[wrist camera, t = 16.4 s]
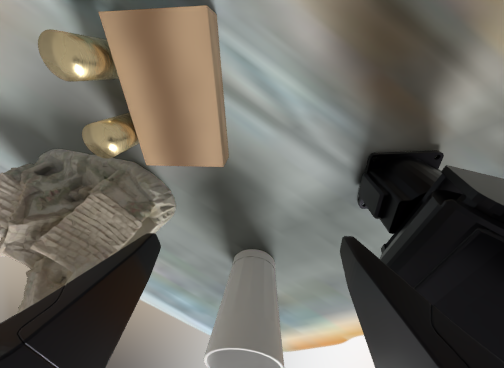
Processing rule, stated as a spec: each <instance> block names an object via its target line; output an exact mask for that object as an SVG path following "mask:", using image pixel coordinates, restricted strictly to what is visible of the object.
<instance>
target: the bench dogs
mask: <svg viewBox="0 0 504 368" xmlns="http://www.w3.org/2000/svg"><path fill="white" fill-rule="evenodd" d="M38 48H39V52H40V55H41V57H42V59H43V61H44V63H45V64H46V66H47V67H48V68H49V70H50V71H51V72H52V73H53V74H55V75H56V76H57V77H59V78H61V79H63V80H65V81H89V80H108V79H119V76H118V73H117V70H116V67H115V63H114V60H113V57H112V54H111V51H110V48H109V44H108V41H107V40H106V39H100V38H95V37H90V36H84V35H79V34H73V33H68V32H63V31H57V30H45V31H43V32H42V33H41V34H40V36H39V39H38ZM82 137H83V141H84V143H85V145H86V146H87V147H88V149H89V150H90V151H91V152H93V153H94V154H95V155H97V156H99V157H101V158H106V159H109V158H113V157H115V156H117V155H118V154H120V153H122V152H124V151H126V150H128V149H130V148H131V147H133V146H135V145H137V144H139V140H138V137H137V134H136V130H135V127H134V124H133V121H132V118H131V115H130V112H129V113H126V114H122V115H119V116H115V117H112V118H108V119H105V120H101V121H98V122H94V123H91V124H88V125H86V126H85V127H84V128H83V131H82Z"/></svg>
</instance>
